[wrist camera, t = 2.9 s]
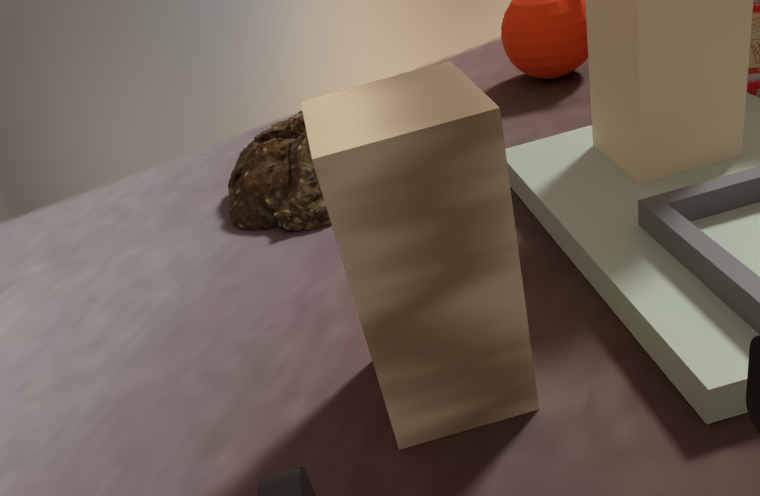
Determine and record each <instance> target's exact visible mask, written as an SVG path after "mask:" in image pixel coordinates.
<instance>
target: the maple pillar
mask: <svg viewBox="0 0 760 496" xmlns="http://www.w3.org/2000/svg"><path fill="white" fill-rule="evenodd" d="M301 106H302V112H303V117H304V122H305V127H306V132H307V137H308V142H309V147H310V152H311V157H312V161H313V164H314V168H315V171H316V174H317V178H318V181H319V184H320V188H321V191H322V194H323V198H324V201H325V204H326V208H327V211H328V214H329V218H330V221H331V224H332V228H333V231H334V234H335V238H336V241H337V244H338V248H339V251H340V254H341V258H342V261H343V264H344V268H345V271H346V274H347V278H348V281H349V284H350V288H351V291H352V294H353V298H354V301H355V304H356V308H357V311H358V315H359V318H360V321H361V325H362V328H363V331H364V335H365V338H366V341H367V345H368V348H369V351H370V355H371V358H372V361H373V365H374V368H375V371H376V375H377V378H378V381H379V385H380V388H381V391H382V395H383V398H384V401H385V405H386V408H387V411H388V415H389V418H390V421H391V425H392V428H393V431H394V435H395V438H396V441H397V445H398V448H399V450H401V449H404V448H408V447H411V446H414V445H418V444H421V443H425V442H428V441H432V440H435V439H439V438H442V437H446V436H449V435H452V434H456V433H459V432H463V431H466V430H470V429H473V428H477V427H480V426H483V425H487V424H490V423H494V422H497V421H501V420H504V419H508V418H511V417H515V416H518V415H521V414H525V413H528V412H532V411H535V410H539V404H538V397H537V389H536V381H535V374H534V366H533V358H532V351H531V343H530V335H529V327H528V320H527V312H526V304H525V297H524V289H523V281H522V274H521V266H520V258H519V251H518V243H517V235H516V228H515V220H514V212H513V205H512V197H511V189H510V182H509V174H508V166H507V158H506V151H505V143H504V135H503V128H502V120H501V112H500V107H499V106H498V105H497V104H495V103H494V102H493V101H492V100H491V99H490V98H489V97H488V96H487V95H486V94H485V93H484V92H483V91H482V90H481V89H480V88H478V87H477V86H476V85H475V84H474V83H473V82H472V81H471V80H470V79H469V78H468V77H467V76H466V75H465V74H464V73H463V72H461V71H460V70H459V69H458V68H457V67H456V66H455V65H454V64H453V63H452V62H451V61H448V62H445V63H441V64H437V65H433V66H430V67H426V68H422V69H419V70H415V71H411V72H408V73H404V74H400V75H397V76H393V77H389V78H386V79H382V80H378V81H375V82H371V83H367V84H364V85H360V86H357V87H352V88H349V89H345V90H341V91H338V92H334V93H331V94H327V95H323V96H320V97H316V98H312V99H308V100H305V101H301Z"/></svg>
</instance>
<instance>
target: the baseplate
mask: <svg viewBox="0 0 760 496" xmlns="http://www.w3.org/2000/svg"><path fill="white" fill-rule="evenodd" d="M585 5H586V23H587V42H588V60H589V79H590V97H591V116H592V125H590V126H587V127H583V128H579V129H576V130H572V131H568V132H565V133H561V134H558V135H554V136H550V137H547V138H543V139H540V140H536V141H532V142H529V143H525V144H521V145H518V146H514V147H511V148H507V149H505V151H506V158H507V166H508V174H509V182H510V187H511V188H512V189H513V190H514V192H515V193H516V194H517V195H518V197H519V198H520V199H521V200H522V201H523V203H524V204H525V205H526V206H527V207H528V209H529V210H530V211H531V212H532V214H533V215H534V216H535V217H536V218H537V220H538V221H539V222H540V223H541V224H542V226H543V227H544V228H545V229H546V230H547V232H548V233H549V234H550V235H551V237H552V238H553V239H554V240H555V241H556V243H557V244H558V245H559V246H560V247H561V249H562V250H563V251H564V252H565V254H566V255H567V256H568V257H569V258H570V260H571V261H572V262H573V263H574V264H575V266H576V267H577V268H578V269H579V270H580V272H581V273H582V274H583V275H584V277H585V278H586V279H587V280H588V281H589V283H590V284H591V285H592V286H593V287H594V289H595V290H596V291H597V292H598V294H599V295H600V296H601V297H602V298H603V300H604V301H605V302H606V303H607V304H608V306H609V307H610V308H611V309H612V310H613V312H614V313H615V314H616V315H617V317H618V318H619V319H620V320H621V321H622V323H623V324H624V325H625V326H626V327H627V329H628V330H629V331H630V332H631V334H632V335H633V336H634V337H635V338H636V340H637V341H638V342H639V343H640V344H641V346H642V347H643V348H644V349H645V351H646V352H647V353H648V354H649V355H650V357H651V358H652V359H653V360H654V361H655V363H656V364H657V365H658V366H659V367H660V369H661V370H662V371H663V372H664V374H665V375H666V376H667V377H668V378H669V380H670V381H671V382H672V383H673V384H674V386H675V387H676V388H677V389H678V391H679V392H680V393H681V394H682V395H683V397H684V398H685V399H686V400H687V401H688V403H689V404H690V405H691V406H692V407H693V409H694V410H695V411H696V412H697V414H698V415H699V416H700V417H701V418H702V420H703V421H704V422H705V423H706V424H710V423H714V422H717V421H720V420H724V419H727V418H731V417H734V416H737V415H741V414H744V413H748V411H747V407H746V387H747V375H748V362H749V349H750V343H751V340H752V339H753V338H754V337H755V336H758V335H760V98H758V97H756V96H754V95H752V94H749V93H747V79H748V66H749V52H750V39H751V25H752V12H753V0H585Z"/></svg>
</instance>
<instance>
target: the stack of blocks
mask: <svg viewBox="0 0 760 496" xmlns="http://www.w3.org/2000/svg"><path fill="white" fill-rule="evenodd" d="M747 93H749V94H752V95H754V96H756V97H758V98H760V0H753V12H752V25H751V39H750V52H749V66H748V79H747Z"/></svg>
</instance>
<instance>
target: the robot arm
mask: <svg viewBox="0 0 760 496" xmlns="http://www.w3.org/2000/svg"><path fill="white" fill-rule="evenodd" d="M746 407H747V411H748V414H749V416H750V419H751V421H752V423H753V425H754V426H755V428H756V429H757V431H758V432H759V434H760V335H758V336H755V337H754V338H753V339H752V340H751V343H750V349H749V362H748V375H747V387H746ZM258 496H316V495H315V493H314V490H313V488H312V486H311V483H310V481H309V479H308V476H307V474H306V472H305V470H304V468H303V467H300V468H296V469H293V470H290V471H286V472H283V473H279V474H276V475H272V476H269V477H266V478H262V479H260V481H259V485H258Z"/></svg>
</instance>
